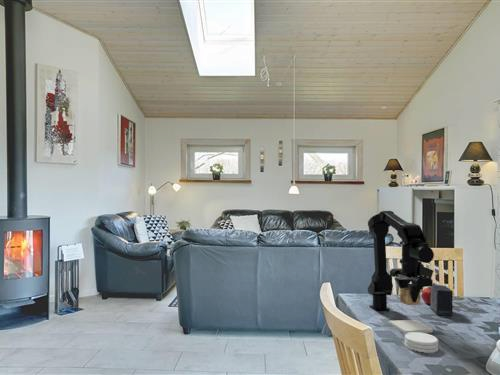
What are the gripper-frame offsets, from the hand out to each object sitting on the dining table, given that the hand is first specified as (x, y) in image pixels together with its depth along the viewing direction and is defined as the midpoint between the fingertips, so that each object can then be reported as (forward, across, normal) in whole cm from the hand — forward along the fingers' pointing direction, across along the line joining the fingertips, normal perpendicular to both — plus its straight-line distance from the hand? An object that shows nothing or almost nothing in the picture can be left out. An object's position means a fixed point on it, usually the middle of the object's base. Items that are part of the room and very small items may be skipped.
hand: (409, 300), depth 140 cm
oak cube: (+1, 0, 0) cm, 1 cm away
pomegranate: (+10, +28, -30) cm, 42 cm away
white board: (+10, 0, 0) cm, 10 cm away
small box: (+10, +16, -25) cm, 31 cm away
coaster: (+11, -17, +7) cm, 21 cm away
